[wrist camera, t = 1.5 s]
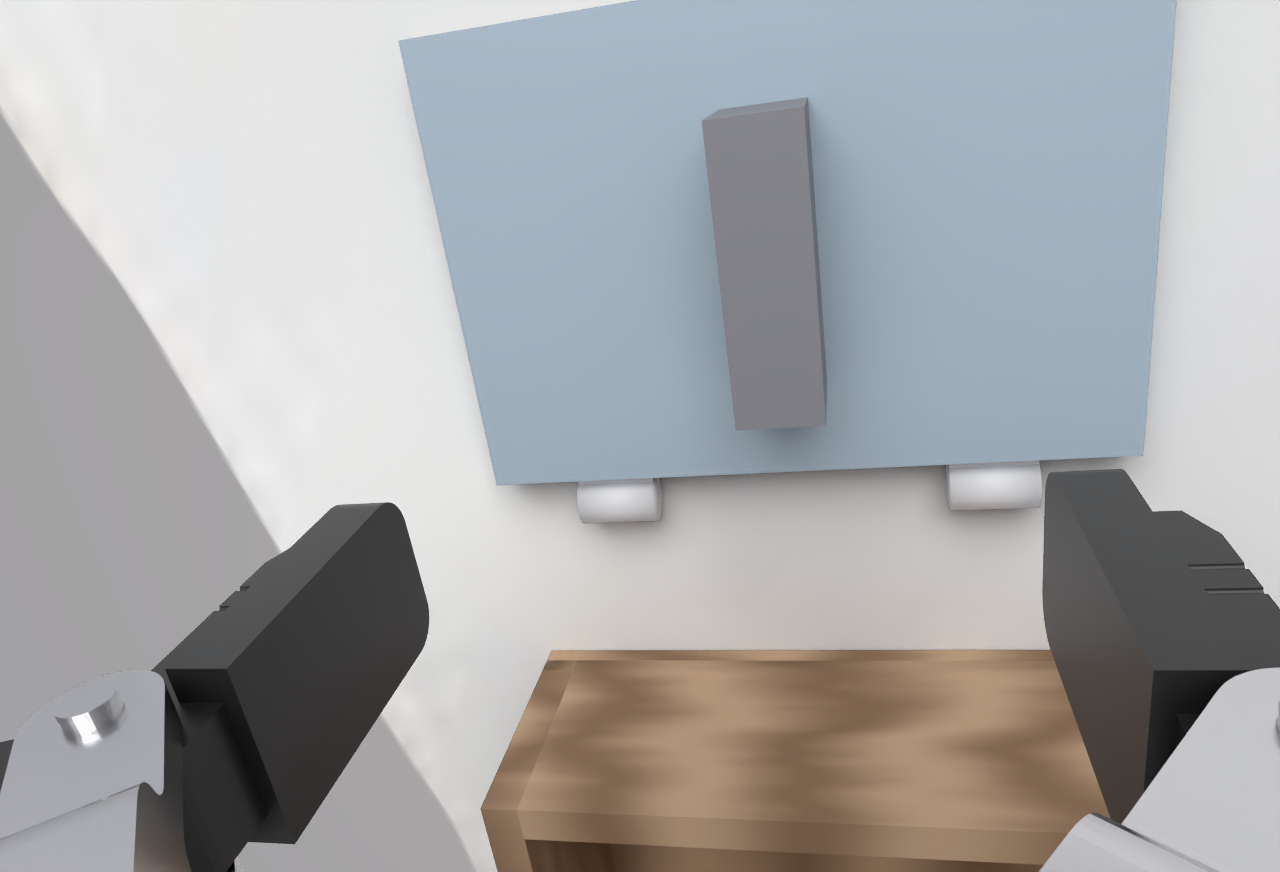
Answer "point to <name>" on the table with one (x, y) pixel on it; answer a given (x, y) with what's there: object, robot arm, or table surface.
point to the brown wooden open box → (791, 763)
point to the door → (802, 237)
